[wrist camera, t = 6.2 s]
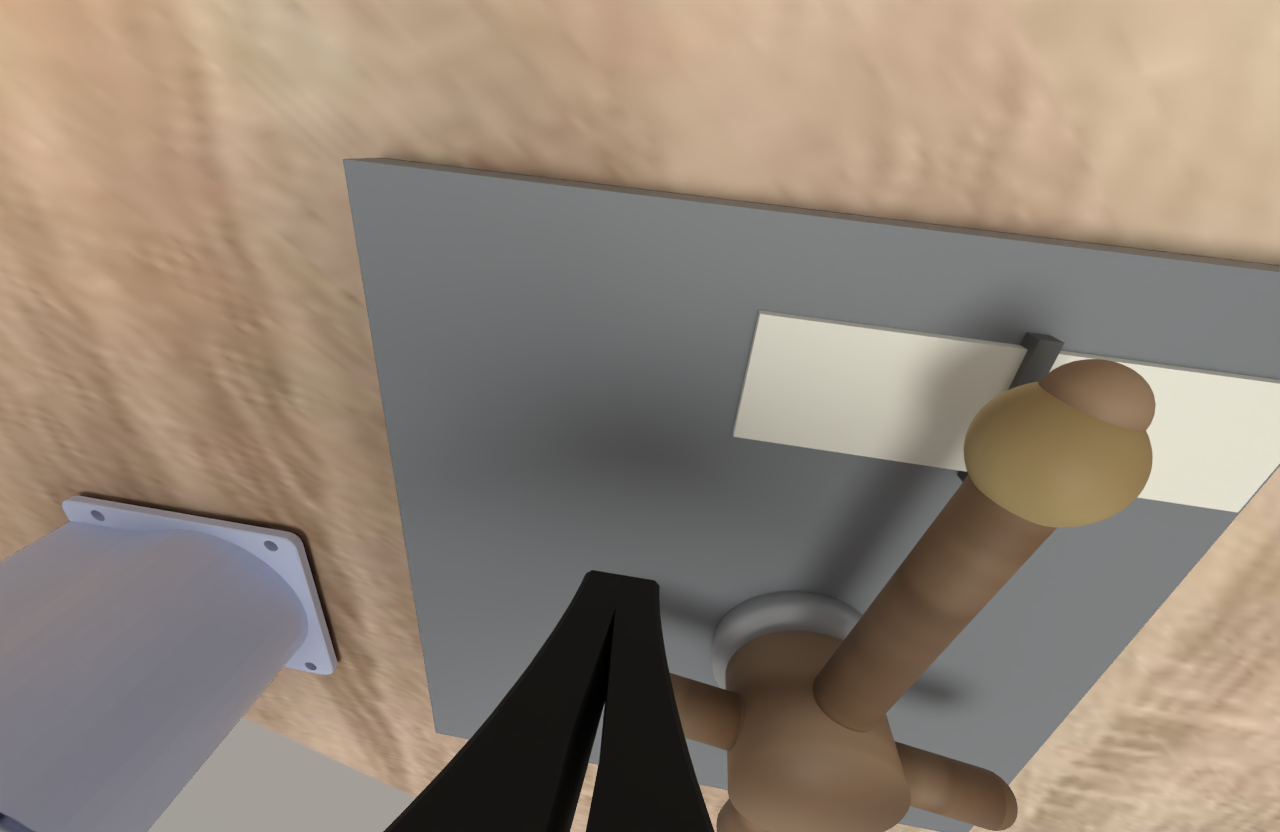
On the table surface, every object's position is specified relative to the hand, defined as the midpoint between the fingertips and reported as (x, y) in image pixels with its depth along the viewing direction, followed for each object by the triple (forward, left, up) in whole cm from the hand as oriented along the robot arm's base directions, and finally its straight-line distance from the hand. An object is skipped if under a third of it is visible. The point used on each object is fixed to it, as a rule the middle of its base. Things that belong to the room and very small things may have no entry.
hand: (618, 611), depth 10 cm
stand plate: (+3, -4, -6) cm, 8 cm away
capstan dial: (+6, -3, -4) cm, 8 cm away
